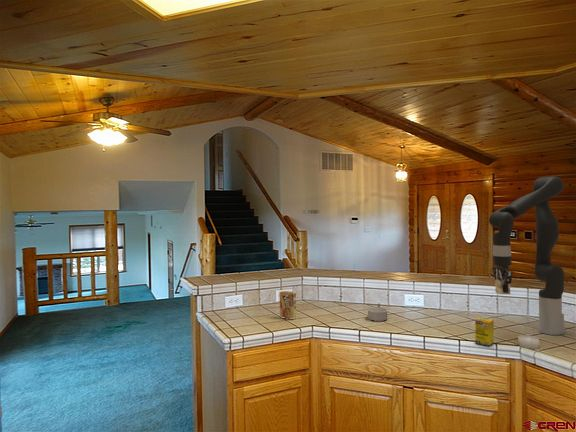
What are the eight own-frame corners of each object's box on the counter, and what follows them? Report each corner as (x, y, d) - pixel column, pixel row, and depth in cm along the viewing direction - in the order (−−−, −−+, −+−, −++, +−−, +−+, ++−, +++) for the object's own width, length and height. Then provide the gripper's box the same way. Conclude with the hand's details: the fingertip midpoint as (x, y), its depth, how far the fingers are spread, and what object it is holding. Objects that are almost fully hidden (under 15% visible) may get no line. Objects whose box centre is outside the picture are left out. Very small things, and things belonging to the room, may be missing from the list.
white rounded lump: (532, 342, 174) (532, 335, 174) (543, 349, 166) (543, 341, 166) (514, 342, 175) (514, 335, 175) (524, 349, 167) (523, 341, 167)
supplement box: (475, 344, 174) (474, 319, 174) (480, 340, 178) (479, 317, 178) (489, 347, 170) (489, 322, 169) (494, 343, 174) (493, 319, 174)
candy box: (296, 318, 220) (296, 291, 220) (294, 320, 217) (293, 293, 216) (282, 316, 224) (282, 290, 224) (279, 318, 220) (279, 292, 220)
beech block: (505, 292, 183) (505, 279, 183) (510, 294, 178) (509, 281, 178) (495, 292, 183) (495, 279, 183) (500, 294, 178) (499, 281, 178)
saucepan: (389, 313, 227) (389, 303, 227) (387, 323, 208) (387, 312, 208) (369, 312, 231) (369, 302, 231) (366, 321, 212) (365, 311, 212)
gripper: (518, 256, 173) (519, 294, 173) (502, 252, 187) (503, 288, 188) (501, 256, 173) (502, 294, 174) (486, 253, 188) (487, 288, 188)
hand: (502, 291), depth 181 cm, fingers closed on beech block, 4 cm apart
